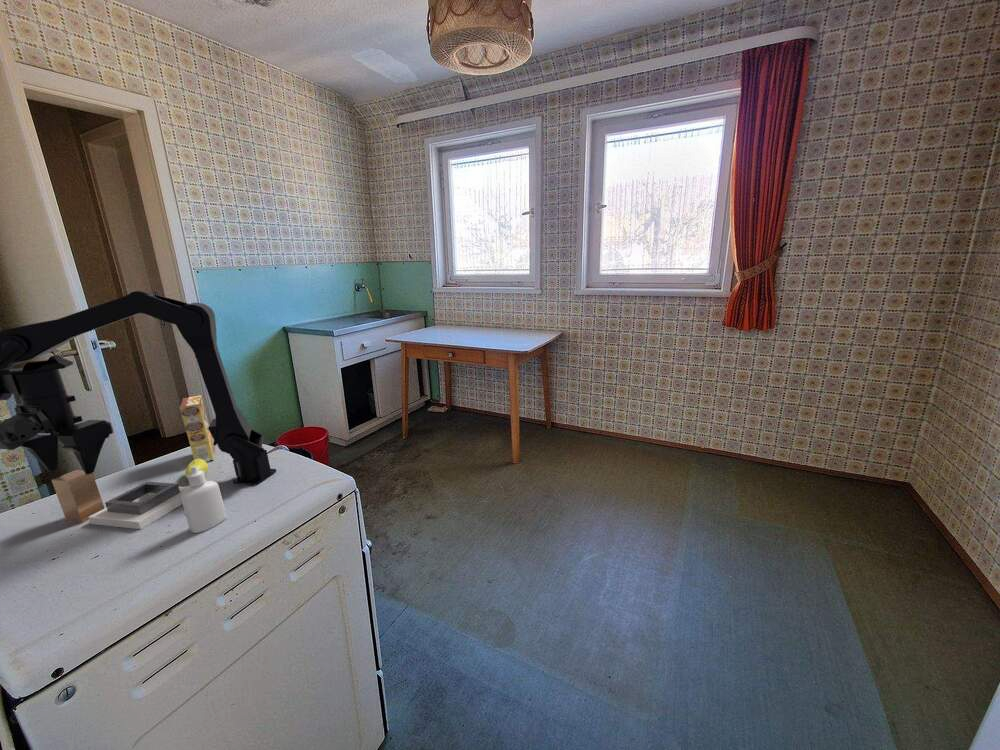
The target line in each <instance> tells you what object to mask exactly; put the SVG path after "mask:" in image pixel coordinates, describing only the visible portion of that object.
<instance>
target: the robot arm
mask: <svg viewBox="0 0 1000 750" xmlns="http://www.w3.org/2000/svg"><path fill="white" fill-rule="evenodd" d="M140 314H144V315H147V316H150V317H152V318H155V319H157V320H160V321H162V322H165V323H168V324H169V323H170V324H172V325H175V326H176V329H178V331H179V333H180V335H181V336H182V338H183V340H185V342H186V343H187V344H188V346H189V347H190V348H191V349H192V352H193V354H194V356H195V359H196V362H197V365H198V367H199V371H200V374H201V378H202V379H203V382H204V385H205V388H206V391H207V395H208V397H209V400H210V403H211V406H212V408H213V411H214V414H215V418H212V420H211V422H210V423H209V427H208V429H209V431H210V433H211V435H212V439H213V443H214V444H213V445H214V447H215V446H216V445H217V447H218V449H219V450H220V451H221V452H222V453H226V454H229V456H230V457H231V458H232V459H233V460H232V463H233V468H234V472H235V476H236V478H234V479H233V480H231V482H232V484H241V485H253V486H256V485H258V484H260V483H261V482H263V481H264V480H266V479H268V478H269V477H270V476H272V475H274V474H275V473H276V472H277V469H276V468H271V465H270V461H269V454H268V451H267V449H265V448H264V447H263V445H264V444H263V443H264V442H263V441H264V437H265V435H264V434H262V433H260V432H258V431H256V430H255V429H252V427H251V425H250V424H249V422H248V420H247V418H246V416H245V415H244V414H243V412H242V411H241V410H240V409H239V408H238V405H237V403H236V400H235V397H234V395H233V391H232V388H231V385H230V382H229V379H228V376H227V373H226V370H225V367H224V363H223V360H222V357H221V354H220V351H219V348H218V343H217V342H218V341H217V340H218V339H217V323H216V315H215V313H214V310H213V309H212V308H211V307H210V306H208V305H206V304H205V303H203V302H192V303H188V302H184V301H181V300H178V299H173V298H171V297H166V296H164V295H163V296H162V295H158V294H156V293H153V292H151V291H149V290H137V291H135V290H134V291H132V292H130V293H128V294H126V295H124V296H121V297H118V298H115V299H112V300H109V301H107V302H104V303H101V304H97V305H96V306H92V307H89V308H87V309H84V310H80V311H78V312H75V313H71V314H69V315H66V316H63V317H59V318H56V319H52V320H51V319H50V320H47V321H42V322H35V323H29V324H24V325H19V326H14V327H9V328H6V329H5V328H4V329H1V330H0V401H7V400H9V399H10V398H11V397H12V395H13V394H15V393H16V392H17V393H18V397H19V399H20V401H21V403H19V404H18V403H17V404H15V406H14V412H15V415H13V416H11V417H9V418H6V419H5V420H3V421H1V422H0V450H7V451H13V450H16V449H18V448H21V449H25V450H27V451H28V452H29V453H30V454H31V455H32V456H33V457H34V458H35V459H36V460H37V461H38V462H39V463H40V464H41V465H42V466H43V467H44V468H45V469H46V470H47V471H48V472H50V473H51V472H54V471H56V470H58V465H59V464H58V463H59V442H60V443H61V444H62V445H63V446H61V449H65V450H67V451H70V452H73V453H74V455H75V457H76V460H77V461H78V463H79V465H80V467H81V470H84V472H85V474H91V473H93V474H94V473H95V470H96V466H97V463H98V459H99V457H100V454H101V450H102V449H103V446H104V443H105V441H106V439H108V438H109V437H110V435H112V434H113V433H114V428H113V425H112V423H111V422H109V421H107V420H105V419H89V420H85V421H83V417H82V415H75V413H74V410H73V407H72V404H71V403H72V402H75V401H76V400H77V399H76V397H75V395H68V391H67V389H66V386H65V383H64V380H63V377H62V375H61V372H60V370H63V369H66V368H68V367H71V366H73V365H74V362H73V361H71V360H68V359H66V358H64V357H62V356H60V355H59V354H54V355H52V356H49V358H48V359H43V360H36V361H30V360H33V359H35V358H38V357H42V356H44V355H45V356H46V355H47V354H49V353H51V352H53V351H54V350H56V349H58V348H60V347H62V346H64V345H66V344H67V343H68V342H70V341H71V340H73V339H75V338H77V337H79V336H80V335H83V334H87V333H89V332H92V331H94V330H97V329H100V328H102V327H106V326H109V325H111V324H114V323H117V322H119V321H122V320H125V319H128V318H131V317H133V316H136V315H140ZM26 361H27V362H26ZM25 362H26V363H25ZM21 363H25V364H24V365H23V367H18V368H10V367H13V366H16V365H18V364H21ZM76 423H77V424H76Z"/></svg>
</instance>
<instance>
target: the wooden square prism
mask: <svg viewBox="0 0 1000 750" xmlns="http://www.w3.org/2000/svg"><path fill="white" fill-rule="evenodd" d="M51 482H52V485H53V488H54V490H55V495H56V497H57V499H58V502H59V505H60V508H61V511H62V512H63V516H64V518H65V521H66V522H69V523H78V524H85V522H87V521H89V518H88V517H89V516H91V515H93V514H95V513H97V512H99V511H101V510H103V509H105V508H106V507H105V505H104V502H103V500H102V497H101V493H100V490H99V488H98V485H97V482H96V479H95V475H94V472H93V473H91V474H85V472H84V470H83V469H75V470H72V471H69V472H68V473H65V474H63V475H60V476H58V477H55V478H53V479H51Z"/></svg>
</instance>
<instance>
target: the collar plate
mask: <svg viewBox="0 0 1000 750" xmlns="http://www.w3.org/2000/svg"><path fill="white" fill-rule="evenodd" d="M189 487H190V486H188V487H187V486H179V484H178V483H169V482H158V481H145V482H143V483H141V484H139V485H137V486H135V487H133V488H130V490H127V491H126V492H123V493H121V494H119V495H117V496H115V497H113V498H111V499H110V500H108V501H105V502H104V504H105V507H104V508H105V509H103V510H101V511H99V512H97V513H95V514H93V515H91V516H89V517H88V518H89V520H88V521H89V524H90V525H97V526H99V525H100V526H108V527H118V528H119V527H120V528H125V529H127V528H128V529H133V530H135V529H136V530H142V529H144V528H145V527H147V526H148V525H150V524H152V523H154V522H155V521H157V520H158V519H160V518H162V517H163V516H165V515H167V514H169V513H170V512H172V511H173V510H175V509H177V508H178V507H180V506H181V505H183V503H182V499H181V495H182V493H183V492H184V491H185V490H186V489H188V488H189Z"/></svg>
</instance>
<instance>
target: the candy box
mask: <svg viewBox="0 0 1000 750" xmlns="http://www.w3.org/2000/svg"><path fill="white" fill-rule="evenodd" d="M179 411H180V413H181V418H182V421H183V426H184V428H185V431H186V435H187V439H188V442H189V445H190V449H191V453H192V456H193V460H195V459H202V460H204V461H209V462H211V461H210V460H213V461H214V460H215V456H214V455H215V452H216V447H215V446H214V445H213V444H214V439H213V436H212V435H211V433H210V431H209V429H208V427H209V425H210V423H209V420H208V417H207V412H206V409H205V405H204V401H203V398H202V395H195V396H189V397H183V398H182V401H181V403H180V406H179Z"/></svg>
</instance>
